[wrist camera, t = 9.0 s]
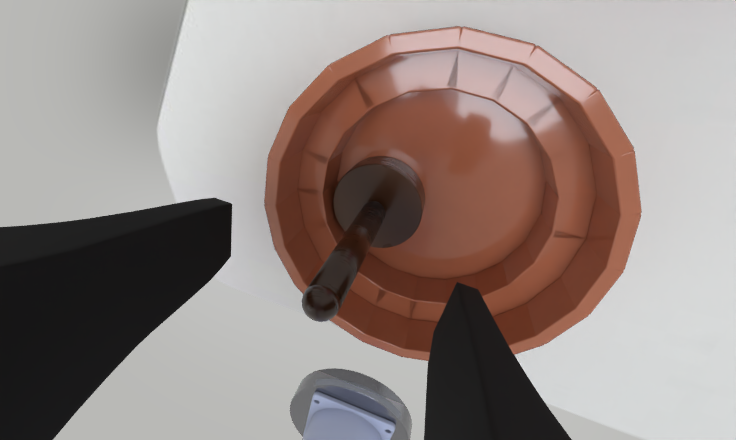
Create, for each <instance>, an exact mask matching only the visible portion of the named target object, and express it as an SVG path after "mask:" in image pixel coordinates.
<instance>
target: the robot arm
mask: <svg viewBox="0 0 736 440" xmlns="http://www.w3.org/2000/svg"><path fill="white" fill-rule="evenodd" d="M231 224H232V204H231V203H228V202H225V201H222V200H219V199H216V198H208V199H200V200H194V201H188V202H182V203H177V204H172V205H166V206H161V207H155V208H150V209H144V210H139V211H134V212H127V213H121V214H115V215H109V216H102V217H96V218H90V219H82V220H75V221H67V222H58V223H48V224H38V225H27V226H14V227H0V440H53V439H54V437H55V436H56V435H57V434H58V433H59V432H60V430H61V429H62V428H63V427H64V426H65V424H66V423H67V422H68V421H69V420H70V419H71V417H72V416H73V415H74V414H75V413H76V411H77V410H78V409H79V408H80V407H81V406H82V405H83V404H84V402H85V401H86V400H87V399H88V398H89V397H90V396H91V395H92V394H93V392H94V391H95V390H96V389H97V388H98V387H99V386H100V385H101V384H102V382H103V381H104V380H105V379H106V378H107V377H108V376H109V375H110V374H111V373H112V371H113V370H114V369H115V368H116V367H117V366H118V365H119V364H120V363H121V362H122V361H123V360H124V359H125V358H126V357H127V356H128V355H129V354H130V353H131V351H132V350H133V349H134V348H135V347H136V346H137V345H138V344H139V343H140V342H142V341H143V340H144V339H145V338H146V337H147V336H148V335H149V334H150V333H151V332H152V331H153V330H155V329H156V328H157V327H158V326H159V325H160V324H161V323H163V321H165V320H166V319H167V318H168V317H169V316H170V315H172V314H173V313H174V312H175V311H176V310H177V309H179V308H180V307H181V306H182V305H183V304H184V303H185V302H186V301H188V299H190V298H191V297H192V296H193V295H194V294H195V293H197V292H198V291H199V290H200V289H201V288H202V287H203V286H205V284H207V283H208V282H209V281H210V280H211V279H212V278H213V277H214V275H215V274H216V273H217V272H218V271H219V270H220V269H221V268H222V266H223V265H224V264H225V263H226V262H227V260H228V259H229V258H230V257H231ZM395 426H396V425H395V424H394V423H393V422H392V421H389V420H387V419H385V418H382V417H380V416H377V415H375V414H372V413H370V412H367V411H365V410H363V409H360V408H358V407H355V406H353V405H350V404H348V403H346V402H343V401H341V400H338V399H336V398H333V397H331V396H328V395H326V394H324V393H321V392H318V391H316V392H314V394H313V397H312V401H311V405H310V410H309V414H308V418H307V422H306V426H305V430H304V435H303V439H302V440H390V439H391V437H392V435H393V433H394V431H395ZM424 440H571V438H570V437H569V436H568V434H567V433H566V431H565V430H564V429H563V427H562V426H561V425H560V423H559V422H558V421H557V419H556V418H555V417H554V415H553V414H552V413H551V411H550V410H549V408H548V407H547V405H546V404H545V403H544V401H543V400H542V398H541V397H540V395H539V394H538V392H537V391H536V389H535V388H534V386H533V384H532V383H531V381H530V380H529V378H528V377H527V375H526V374H525V372H524V370H523V369H522V367H521V366H520V364H519V362H518V361H517V359H516V357H515V356H514V354H513V352H512V351H511V349H510V347H509V346H508V344H507V342H506V340H505V338H504V337H503V335H502V333H501V331H500V329H499V328H498V326H497V324H496V322H495V320H494V318H493V316H492V315H491V313H490V311H489V309H488V307H487V305H486V303H485V301H484V299H483V297H482V295H481V294H480V292H479V290H478V289H476V288H473V287H470V286H467V285H465V284H462V283H459V282H457V283H456V285H455V287H454V289H453V291H452V294H451V296H450V298H449V300H448V302H447V304H446V306H445V308H444V311H443V313H442V315H441V317H440V319H439V321H438V323H437V325H436V327H435V330H434V332H433V338H432V343H431V349H430V355H429V361H428V374H427V393H426V413H425V435H424Z"/></svg>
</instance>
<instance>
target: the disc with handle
mask: <svg viewBox="0 0 736 440" xmlns="http://www.w3.org/2000/svg"><path fill="white" fill-rule="evenodd" d="M333 205H334V212H335V215H336V218H337V220H338V222H339V224H340V225H341V227H342V228H343V229H344V231H345V234H344V235H343V236H342V238H341V239H340V241H339V242H338V244H337V245H336V247H335V248H334V250H333V251H332V252H331V254H330V255H329V257H328V258H327V260H326V261H325V263H324V264H323V266H322V267H321V268H320V270H319V271H318V273H317V274H316V276H315V277H314V279H313V280H312V282H311V283H310V284H309V286H308V287H307V289H306V290H305V292H304V294H303V298H302V307H303V310H304V312H305V314H306V315H307V316H308V317H309V318H311V319H312V320H315V321H319V322H322V321H327V320H330V319H332V318H333V317H334V316H335V315H336V314H337V313H338V312H339V310H340V308H341V306H342V304H343V302H344V300H345V298H346V296H347V294H348V291H349V289H350V287H351V285H352V283H353V281H354V279H355V277H356V275H357V273H358V271H359V269H360V267H361V265H362V263H363V261H364V259H365V257H366V255H367V253H368V251H369V249H370V247H375V248H388V247H393V246H396V245H399V244H401V243H403V242H405V241H406V240H408V239H409V238H410V237H411V236H412V235H413V234H414V233H415V231H416V230H417V228H418V226H419V224H420V221H421V217H422V214H423V210H424V205H425V192H424V188H423V185H422V182H421V180H420V178H419V177H418V175H417V174H416V173H415V172H414V170H413V169H412V168H410V167H409V166H408V165H407V164H405V163H404V162H402V161H400V160H398V159H395V158H392V157H387V156H374V157H369V158H366V159H364V160H362V161H360V162H358V163H357V164H356V165H354V166H353V167H352V168H351V169H350V170H349V171H348V172H347V173H346V174H345V175H344V176H343V177H342V178H341V180H340V181H339V183H338V184H337V186H336V189H335V192H334V198H333Z"/></svg>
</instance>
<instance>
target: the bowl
mask: <svg viewBox="0 0 736 440" xmlns="http://www.w3.org/2000/svg"><path fill="white" fill-rule="evenodd" d="M374 156H387V157H392V158H395V159H398V160H400V161H402V162H404V163H405V164H407V165H408V166H409V167H410V168H412V169H413V170H414V172H415V173H416V174H417V175H418V177H419V178H420V180H421V182H422V185H423V188H424V192H425V205H424V210H423V214H422V217H421V221H420V224H419V226H418V228H417V230H416V231H415V233H414V234H413V235H412V236H411V237H410V238H409V239H408V240H406V241H405V242H403V243H401V244H399V245H396V246H393V247H388V248H375V247H370V249H369V251H368V253H367V255H366V257H365V259H364V261H363V263H362V265H361V267H360V269H359V271H358V273H357V275H356V277H355V279H354V281H353V283H352V285H351V287H350V289H349V291H348V294H347V296H346V298H345V300H344V302H343V304H342V306H341V308H340V310H339V312H338V313H337V314H336V315H335V316H334V317H333V318H332V319H330V321H332V322H333V323H335V324H336V325H338V326H339V327H341V328H342V329H344V330H345V331H347V332H349V333H350V334H351V335H353V336H354V337H356V338H358V339H359V340H361V341H362V342H365V343H367V344H370V345H372V346H375V347H377V348H380V349H383V350H385V351H388V352H391V353H393V354H396V355H398V356H401V357H406V358H412V359H419V360H426V361H429V355H430V349H431V343H432V338H433V332H434V330H435V327H436V325H437V323H438V321H439V319H440V317H441V315H442V313H443V311H444V308H445V306H446V304H447V302H448V300H449V298H450V296H451V294H452V291H453V289H454V287H455V285H456V283H457V282H459V283H462V284H465V285H467V286H470V287H473V288H476V289H478V290H479V292H480V294H481V295H482V297H483V299H484V301H485V303H486V305H487V307H488V309H489V311H490V313H491V315H492V316H493V318H494V320H495V322H496V324H497V326H498V328H499V329H500V331H501V333H502V335H503V337H504V338H505V340H506V342H507V344H508V346H509V347H510V349H511V351H512V352H513V354H514V355H515V354H518V353H521V352H524V351H527V350H530V349H533V348H536V347H539V346H542V345H544V344H547V343H548V342H550V341H551V340H553V339H554V338H556V337H557V336H559V335H560V334H562V333H563V332H565V331H566V330H568V329H569V328H571V327H572V326H574V325H575V324H577V323H578V322H580V321H581V320H583V319H584V318H586V317H587V316H588V315H589V314H591V312H592V311H593V310H594V309H595V307H596V306H597V305H598V304H599V302H600V301H601V300H602V298H603V297H604V296H605V295H606V293H607V292H608V291H609V290H610V288H611V287H612V286H613V285H614V283H615V282H616V281H617V279H618V278H619V277H620V276H621V274H622V273H623V270H624V269H625V266H626V263H627V260H628V257H629V254H630V250H631V247H632V244H633V241H634V237H635V234H636V231H637V228H638V224H639V221H640V218H641V212H642V211H641V202H640V193H639V185H638V176H637V167H636V158H635V151H634V147H633V146H632V144H631V142H630V141H629V139H628V137H627V136H626V134H625V132H624V131H623V129H622V127H621V126H620V124H619V122H618V121H617V119H616V117H615V116H614V114H613V112H612V110H611V109H610V107H609V105H608V104H607V102H606V100H605V99H604V97H603V95H602V94H601V92H600V90H598V89H597V88H596V87H595V86H594V85H593V84H591V83H590V82H588V81H587V80H586V79H584V78H583V77H581V76H580V75H579V74H577V73H576V72H575V71H573V70H572V69H570V68H569V67H568V66H566V65H565V64H563V63H562V62H561V61H559V60H558V59H556V58H555V57H554V56H552V55H551V54H549V53H548V52H547V51H545V50H544V49H543V48H541V47H540V46H536V45H535V44H533V43H529V42H525V41H521V40H517V39H513V38H509V37H505V36H501V35H497V34H493V33H489V32H485V31H481V30H477V29H473V28H469V27H465V26H464V27H462V28H461V27H460V26H456V27H447V28H439V29H430V30H422V31H414V32H405V33H397V34H390V35H386V36H384V37H382V38H380V39H378V40H376V41H374V42H372V43H371V44H369V45H367V46H365V47H363V48H361V49H359V50H357V51H355V52H353V53H351V54H349V55H347V56H345V57H343V58H341V59H339V60H337V61H335V62H333V63H331V64H330V65H328V66H327V67H326V68H325V69H324V70H323V71H322V72H321V74H320V75H319V76H318V77H317V78H316V79H315V80H314V81H313V82H312V83H311V84H310V85H309V86H308V87H307V89H306V90H305V91H304V92H303V93H302V94H301V95H300V96H299V97H298V98H297V99H296V100H295V101H294V102H293V104H292V105H291V106H290V107H289V109H288V111H287V113H286V115H285V118H284V120H283V122H282V125H281V127H280V129H279V132H278V134H277V136H276V139H275V141H274V143H273V146H272V148H271V150H270V153H269V155H268V162H267V174H266V187H265V200H264V203H265V204H264V206H265V210H266V214H267V218H268V223H269V227H270V231H271V236H272V240H273V244H274V247H275V250H276V252H277V254H278V255H279V257H280V259H281V261H282V263H283V264H284V266H285V268H286V270H287V272H288V273H289V275H290V277H291V279H292V281H293V283H294V284H295V285H296V287H297V288H298V289H299V290H300V291H301V292H302V293H303V294H304V292H305V290H306V289H307V287H308V286H309V284H310V283H311V282H312V280H313V279H314V277H315V276H316V274H317V273H318V271H319V270H320V268H321V267H322V266H323V264H324V263H325V261H326V260H327V258H328V257H329V255H330V254H331V252H332V251H333V250H334V248H335V247H336V245H337V244H338V242H339V241H340V239H341V238H342V236H343V235H344V234H345V231H344V229H343V228H342V227H341V225H340V224H339V222H338V220H337V218H336V215H335V212H334V205H333V198H334V192H335V189H336V186H337V184H338V183H339V181H340V180H341V178H342V177H343V176H344V175H345V174H346V173H347V172H348V171H349V170H350V169H351V168H352V167H353V166H354V165H356V164H357V163H358V162H360V161H362V160H364V159H366V158H369V157H374Z"/></svg>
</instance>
